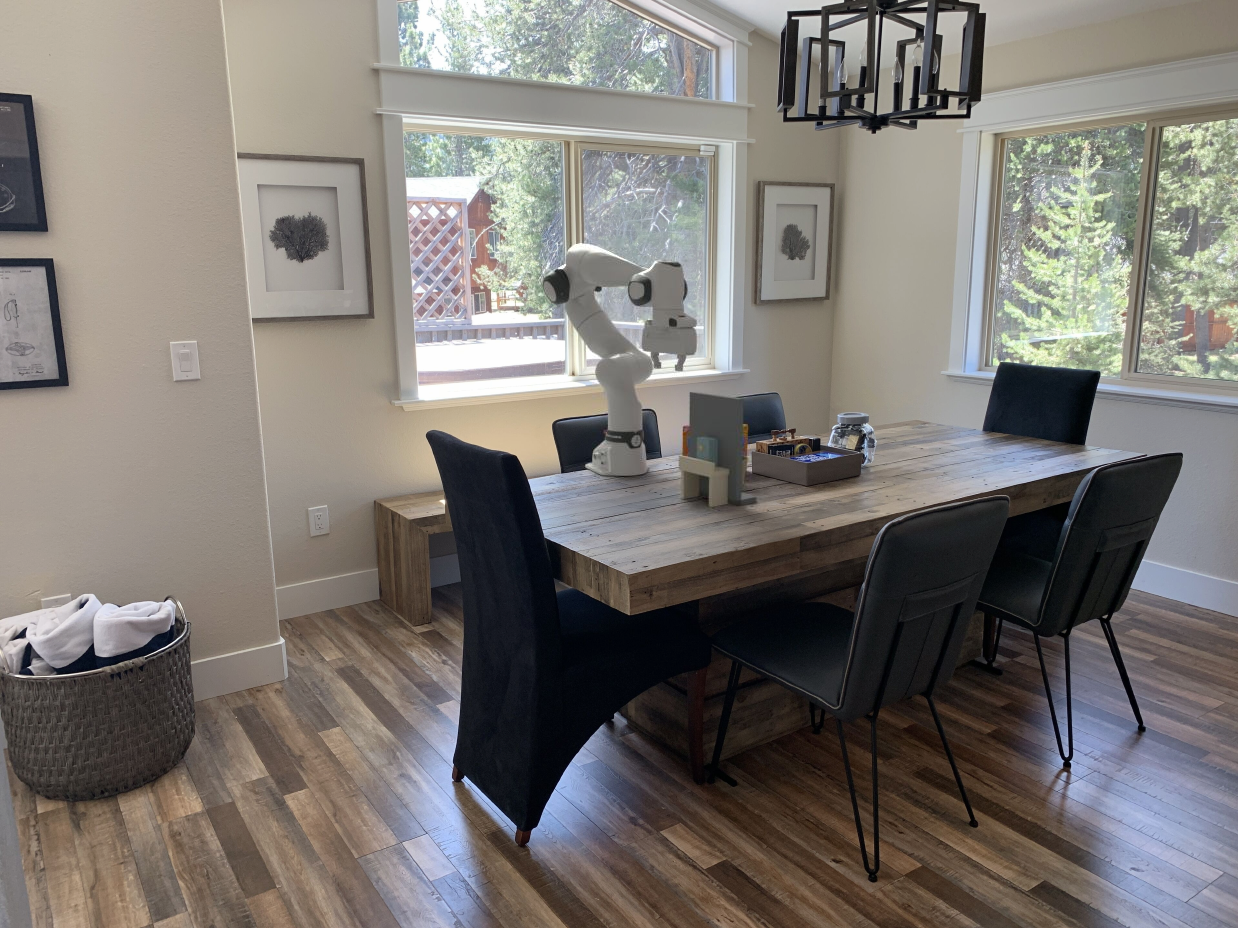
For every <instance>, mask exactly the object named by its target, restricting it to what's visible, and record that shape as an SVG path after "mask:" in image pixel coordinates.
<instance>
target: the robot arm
mask: <svg viewBox="0 0 1238 928" xmlns="http://www.w3.org/2000/svg"><path fill="white" fill-rule="evenodd" d="M618 287H619V288H620V287H627V295H628V298H629V300H630V302H631V304H633V305H634V306H636V307H640V308H652V310H651V311H652V313H651V316H652V318H647V319H646V321H645V322H644V324H643V325H644V326H643V329H642V334H641V349H642V351H641V350H640V349H639V348H638V347H636V346H635V345H634V344H633V343H632V342H631V341H630V340H629V339H627V337H626V336H625V335H623V333H622V332H620V330H618V328H617V327H616V326H615V324H614V323H613V322H612V320H611V318H610V317H609V315H608V314H607V313H606V312H605V310H604V309H603V307H601V305H600V304H599V303H598V301H597V300H596V297H595V292H596V293H600V292H601V291H602V289H603V288H618ZM542 288H543V291H544V295H545V296H546V297H547V300H549V301H550V302H551V303H552V304H554V305H562V304H564V311H565V313H566V315H567V317H568V319H569V321H570V323H571V325H572V327H573V328H574V329H575V330H576V333H578V334H577V335H579V337H580V338H581V339H582V341H583V342H584V344H585V345H586V346H587V349H589V351H590V352H592V353H593V354H595V355H596V356H598V357H600V358H601V359H600V360H599V361H598V363H597V364H596V366H595V370H594V373H595V378H596V380H597V382H598V383H599V384H600V385H601V387H602V389H603V392H604V395H605V400H606V403H607V425H608V426H607V429H605V430H603V435H604V434H605V436H604V440H603V441H602V442H601V443H600V444H599V445H598V446H596V447H595V448H594V449H593V452H592V457H591V458H592V459H591V460H592V462H588V463H586V464H585V468H586V469H587V470H590V471H592V472H594V473H597V474H598V475H601V476H623V477H624V476H625V477H626V476H629V477H630V476H638V475H643V474H646V473H647V472H648V470H649V469H650V465H649V464H647V463H648V462H647V453H646V445H645V443H644V442H643V441H644V435H645V432H644V429H643V406H642V403H641V402H640V400H639V399H638V396H637V392H636V388H635V387H636V386H635V385H639V384H642V383H643V382H645V381H646V380H648V379H649V378H650V377H651V375H652V374H653V370H654V369H657V370H658V369H662V362H661V361H660V359H659V356H660V354H669V355H675V356H676V359H678V360H677V362H676V364H674V370H675V372H683V371H684V364H685V362H686V359H687V356H693V355H695V354H696V352H697V348H698V347H697V345H698V341H697V338H698V337H697V330H696V327H697V324H698V323H697V319H695V318H694V317H692V316H690V315H688V314H687V313H685V305H684V302H685V300H686V298H687V295H688V290H689V288H688V283H687V281H686V279H685V274H684V269H683V265H682V264H681V263H680V262H679V261H675V260H671V259H670V260H668V259H658V260H655V261H654V263H653V264H652V265H651V266H650V268H649V267H646V266H643V265H639V264H638V263H634V262H632V261H630V260H628V259H625V258H623V257H620V256H618V255H616V254H615V253H613V252H611V251H608V250H606V249H603V248H601V247H598V246H595V245H592V244H586V243H577V244H574V245H572V246H570V248H569V249H568V251H567V252H566V255H565V264H563V265H561V266H560V267H556V268H555V269H553V270H551V271H550V272H549V273H547V275H545V276H544V278H543V281H542ZM644 352H645V353H644ZM646 352H648V353H650V356H649V355H648V354H646Z"/></svg>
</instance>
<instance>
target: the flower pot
mask: <svg viewBox="0 0 1238 928" xmlns="http://www.w3.org/2000/svg"><path fill="white" fill-rule="evenodd" d="M749 460H750V458H749V456H747V457H746V456H742V487H744V484H745V476H746V472H747V471H746V465H747V466H748V461H749Z"/></svg>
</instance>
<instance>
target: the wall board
mask: <svg viewBox="0 0 1238 928" xmlns="http://www.w3.org/2000/svg"><path fill="white" fill-rule="evenodd" d="M744 400H745V399H744V398H742V397H737V396H736V397H735V396H729V395H721V394H714V393H709V392H708V393H707V392H700V391H689V420H688V421H689V424H688V425H689V457H687V456H682V454H681V455H680V454H679V455H678V470H679V471H680V499H682V500H685V499H689V498H696V497H702V498H705V499H708V507H709V508H710V507H711V508H713V507H719V506H723V505H730V506H733V507H739V506H742V505H743V504H744V505H749V504H752V503H757V499H758V497H757V496H755V495H751V494H748V493H743V491H742V488H743V486H742V446H743V424H744ZM705 436H707V437H712V438H717V439H718V467H715V463H712V462H708V461H704V460H700V459H697V438H698V437H705ZM748 503H749V504H748Z"/></svg>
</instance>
